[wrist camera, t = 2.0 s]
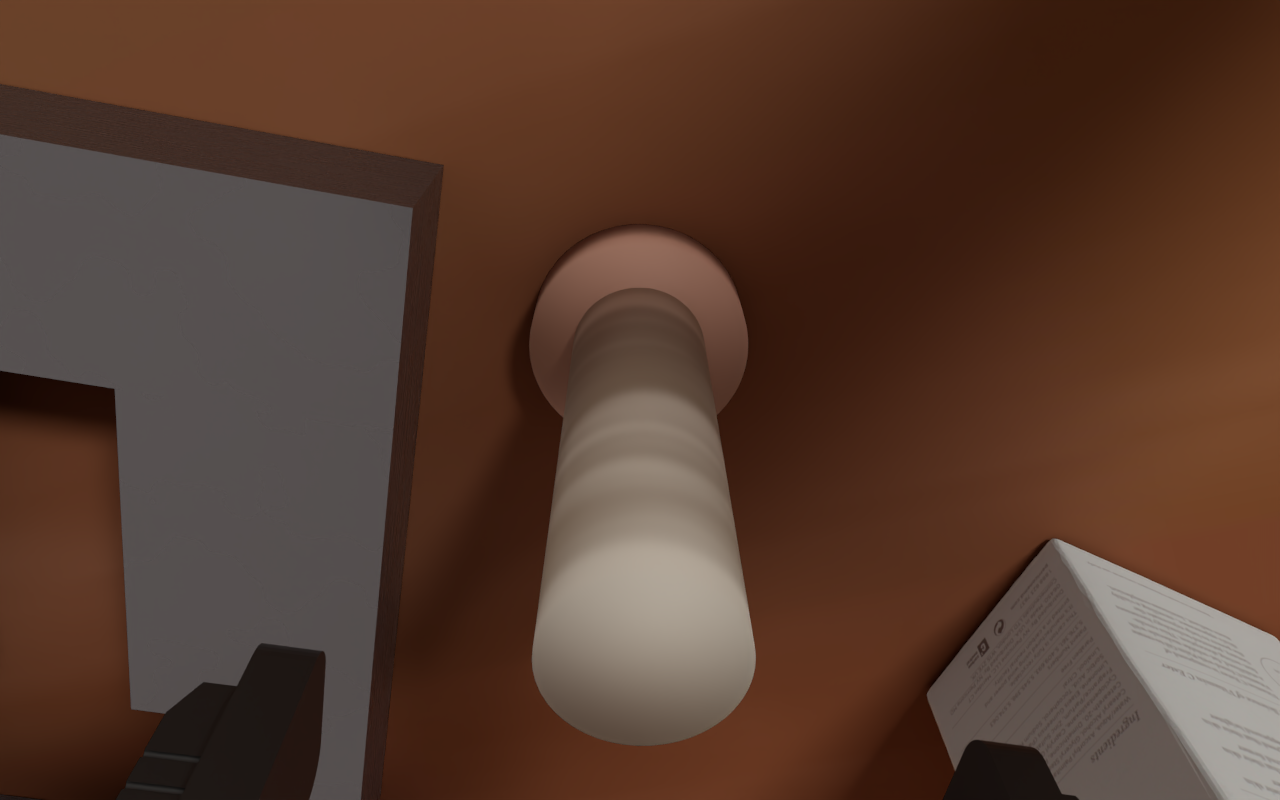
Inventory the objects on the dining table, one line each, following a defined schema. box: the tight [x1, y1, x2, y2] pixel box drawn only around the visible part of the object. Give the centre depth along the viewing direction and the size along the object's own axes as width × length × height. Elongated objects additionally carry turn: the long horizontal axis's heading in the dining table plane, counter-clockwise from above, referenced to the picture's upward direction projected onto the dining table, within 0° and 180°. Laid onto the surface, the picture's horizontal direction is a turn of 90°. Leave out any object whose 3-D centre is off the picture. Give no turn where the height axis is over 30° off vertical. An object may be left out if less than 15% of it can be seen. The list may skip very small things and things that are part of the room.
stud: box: [529, 224, 756, 746], centre depth 19 cm, size 5×5×12 cm
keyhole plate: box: [0, 84, 444, 800], centre depth 25 cm, size 24×16×4 cm, turn 169°
